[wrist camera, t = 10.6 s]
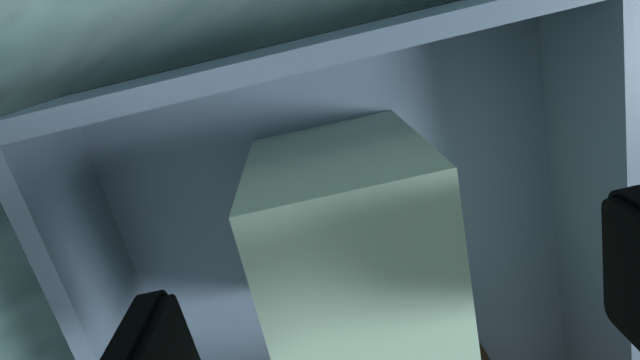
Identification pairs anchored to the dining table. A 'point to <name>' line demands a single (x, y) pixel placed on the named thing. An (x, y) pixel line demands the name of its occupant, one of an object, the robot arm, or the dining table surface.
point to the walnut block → (483, 353)
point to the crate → (329, 107)
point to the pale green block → (356, 244)
